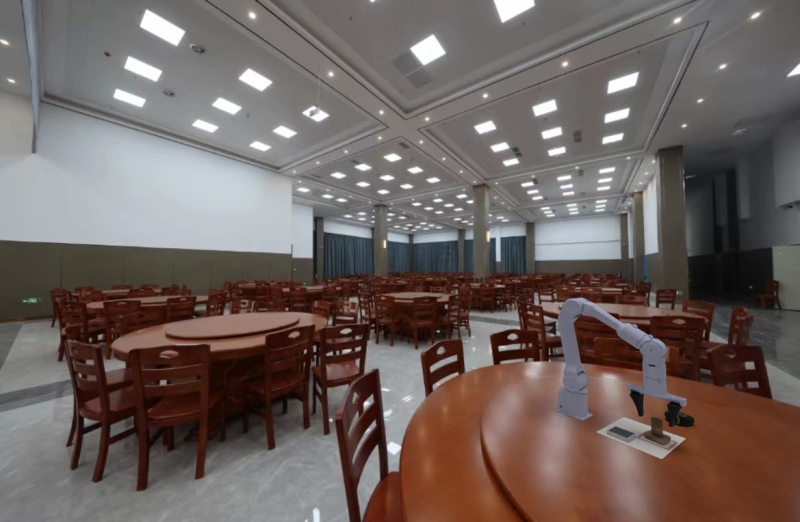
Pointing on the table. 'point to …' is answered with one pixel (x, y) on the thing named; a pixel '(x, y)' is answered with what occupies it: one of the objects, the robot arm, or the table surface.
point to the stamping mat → (639, 437)
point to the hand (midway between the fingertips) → (655, 420)
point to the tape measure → (681, 419)
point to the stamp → (657, 432)
